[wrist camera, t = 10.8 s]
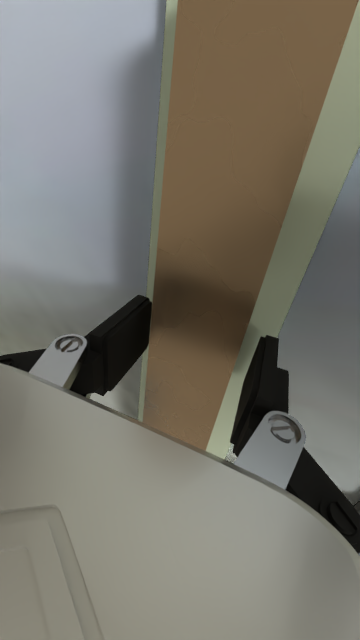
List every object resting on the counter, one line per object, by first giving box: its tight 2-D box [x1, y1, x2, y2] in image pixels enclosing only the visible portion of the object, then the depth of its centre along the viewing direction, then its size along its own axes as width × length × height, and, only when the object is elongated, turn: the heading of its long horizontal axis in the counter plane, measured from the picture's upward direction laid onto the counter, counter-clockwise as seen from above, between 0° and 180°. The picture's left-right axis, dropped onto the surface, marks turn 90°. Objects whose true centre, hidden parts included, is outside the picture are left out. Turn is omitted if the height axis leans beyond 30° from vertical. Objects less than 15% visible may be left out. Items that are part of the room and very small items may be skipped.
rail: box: [142, 0, 359, 451], centre depth 12 cm, size 24×4×4 cm, turn 172°
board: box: [138, 0, 360, 460], centre depth 13 cm, size 28×7×1 cm, turn 172°
